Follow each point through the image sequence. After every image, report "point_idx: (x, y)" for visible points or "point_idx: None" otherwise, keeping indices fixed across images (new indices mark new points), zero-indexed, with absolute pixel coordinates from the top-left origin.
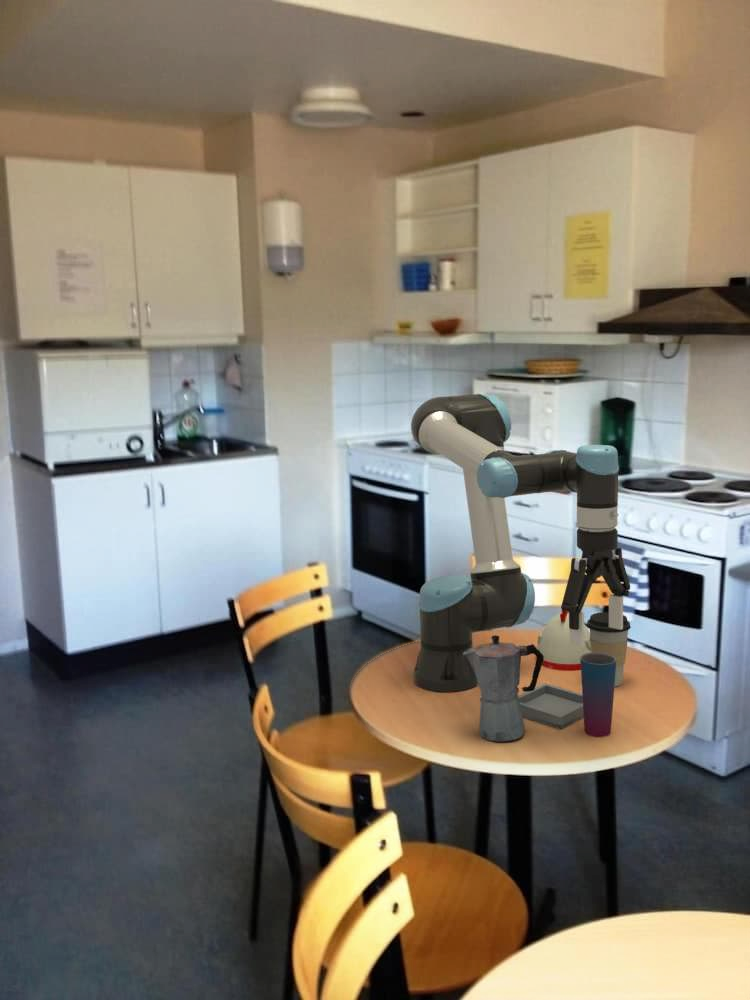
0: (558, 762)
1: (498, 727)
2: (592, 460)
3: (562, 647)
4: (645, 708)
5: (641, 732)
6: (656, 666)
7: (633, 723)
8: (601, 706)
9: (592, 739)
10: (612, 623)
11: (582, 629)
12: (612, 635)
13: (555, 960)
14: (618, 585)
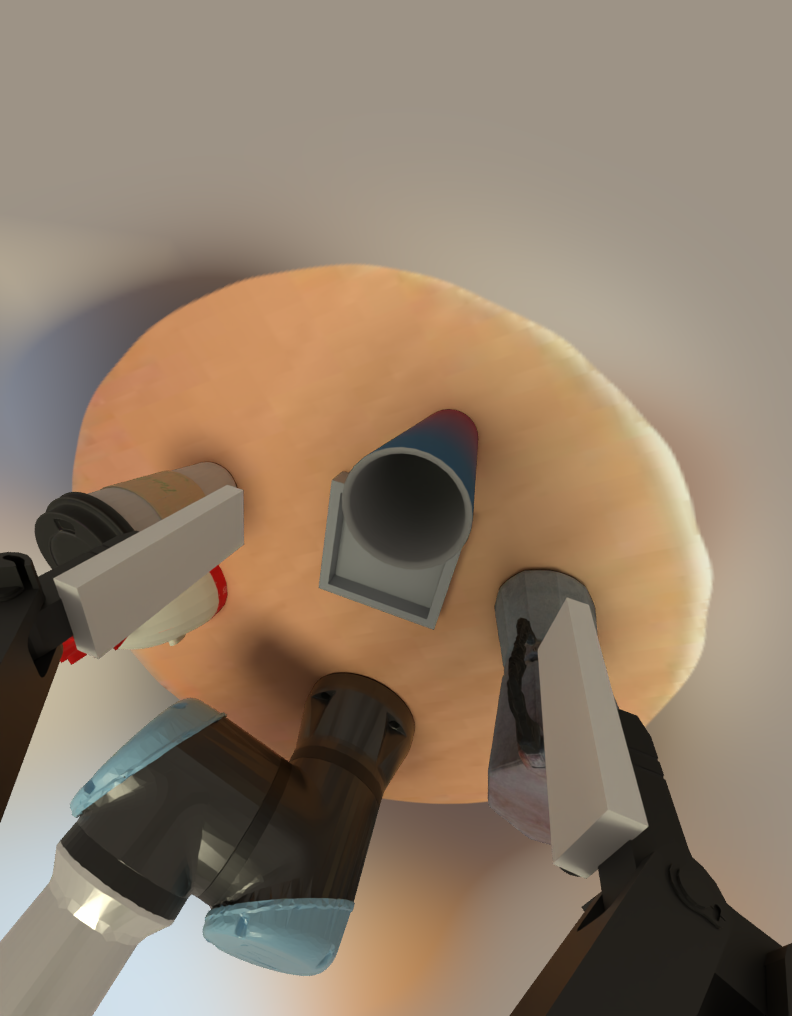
0: (658, 470)
1: (595, 624)
2: None
3: (184, 597)
4: (281, 379)
5: (407, 343)
6: (95, 423)
7: (368, 378)
8: (471, 441)
9: (495, 436)
10: (229, 538)
11: (604, 684)
12: (136, 523)
13: None
14: None
